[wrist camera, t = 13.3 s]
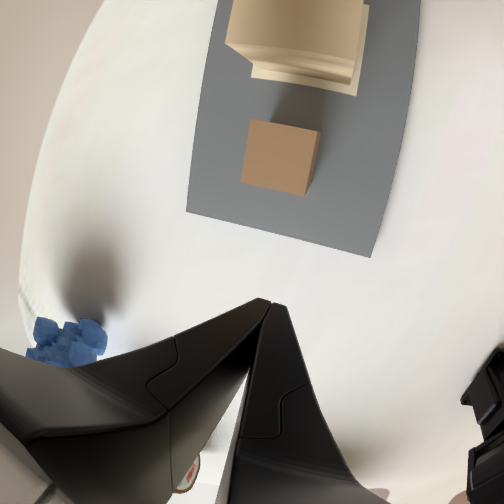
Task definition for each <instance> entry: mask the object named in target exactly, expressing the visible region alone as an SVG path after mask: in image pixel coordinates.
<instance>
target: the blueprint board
mask: <svg viewBox="0 0 504 504" xmlns="http://www.w3.org/2000/svg"><path fill="white" fill-rule="evenodd" d="M233 1H234V0H218V4H217V8H216V13H215V18H214V23H213V27H212V32H211V37H210V43H209V48H208V53H207V59H206V64H205V70H204V76H203V82H202V88H201V94H200V101H199V107H198V114H197V121H196V128H195V136H194V144H193V151H192V160H191V168H190V177H189V187H188V197H187V207H186V212H189V213H193V214H198V215H202V216H206V217H210V218H215V219H219V220H223V221H227V222H231V223H235V224H239V225H244V226H248V227H252V228H256V229H260V230H264V231H268V232H272V233H276V234H280V235H284V236H288V237H292V238H296V239H300V240H303V241H307V242H311V243H315V244H319V245H323V246H327V247H331V248H334V249H338V250H342V251H346V252H349V253H353V254H357V255H361V256H364V257H368V258H370V257H371V254H372V251H373V248H374V245H375V242H376V238H377V235H378V232H379V229H380V225H381V222H382V218H383V215H384V211H385V208H386V204H387V200H388V197H389V193H390V189H391V185H392V181H393V177H394V173H395V169H396V165H397V160H398V156H399V152H400V147H401V142H402V138H403V133H404V128H405V123H406V117H407V112H408V106H409V100H410V94H411V88H412V81H413V74H414V67H415V59H416V50H417V40H418V29H419V16H420V0H364V2H363V10H362V18H361V25H360V33H359V40H358V46H357V53H356V59H355V64H354V69H353V74H352V78H351V82H350V85H346V84H342V83H337V82H332V81H328V80H323V79H318V78H312V77H307V76H301V75H295V74H289V73H282V72H275V71H267V70H261V69H260V68H258V67H257V66H256V65H255V64H253V63H252V62H250V61H249V60H248V59H246V58H245V57H244V56H242V55H241V54H240V53H238V52H237V51H235V50H234V49H232V48H231V47H230V46H228V45H227V44H225V40H226V35H227V30H228V25H229V20H230V15H231V10H232V5H233Z"/></svg>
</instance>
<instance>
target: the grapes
mask: <svg viewBox="0 0 504 504" xmlns="http://www.w3.org/2000/svg"><path fill="white" fill-rule="evenodd" d="M33 336H34V340H35V341H36V342H37V345H36V348H34V349H33V348H28V349H27V352H26V356H25V357H27V358H30V359H33V360H36V361H40V362H43V363H46V364H49V365H53V366H59V367H74V366H80V365H84V364H88V363H92V362H96V361H97V355H103V354H104V352H105V349H106V346H107V334H106V332H105V331H104V330H103V329H101V327H100V324H99V323H97V322H96V321H94V320H90V319H86V318H81V320H80V322H79V324H76V323H72V322H65V324H64V327H63V329H59V327H58V325H57V323H56V322H55V321H53V320H50V319H47V318H43V317H37V320H36V322H35V327H34V332H33Z"/></svg>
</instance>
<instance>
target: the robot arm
mask: <svg viewBox="0 0 504 504" xmlns="http://www.w3.org/2000/svg"><path fill="white" fill-rule="evenodd" d="M497 354H498V355H497ZM248 371H249V372H248ZM247 373H248V376H247V380H246V384H245V388H244V392H243V396H242V400H241V404H240V408H239V412H238V416H237V420H236V424H235V428H234V432H233V436H232V440H231V444H230V448H229V452H228V456H227V460H226V464H225V467H224V471H223V475H222V479H221V483H220V486H219V490H218V494H217V498H216V501H215V504H391V503H389V502H387V501H385V500H384V499H382V498H380V497H378V496H377V495H375V494H373V493H372V492H370V491H369V490H367V489H366V488H364V487H363V486H362V485H361V484H360V483H359V482H358V481H357V480H356V479H355V477H354V476H353V475H352V473H351V471H350V470H349V468H348V466H347V464H346V462H345V460H344V458H343V456H342V454H341V452H340V450H339V448H338V446H337V444H336V442H335V440H334V438H333V436H332V434H331V432H330V430H329V428H328V425H327V423H326V421H325V419H324V417H323V414H322V412H321V410H320V407H319V404H318V402H317V399H316V396H315V393H314V390H313V386H312V384H311V381H310V377H309V374H308V371H307V368H306V365H305V362H304V359H303V355H302V352H301V349H300V346H299V343H298V340H297V337H296V334H295V331H294V327H293V324H292V321H291V318H290V315H289V312H288V309H287V307H286V306H285V305H281V304H278V303H271V302H270V301H268V300H265V299H262V298H256V299H254V300H252V301H250V302H247V303H245V304H243V305H241V306H239V307H237V308H234V309H232V310H230V311H228V312H226V313H223V314H221V315H219V316H217V317H215V318H212V319H210V320H208V321H206V322H203V323H201V324H199V325H197V326H194V327H192V328H190V329H188V330H185V331H183V332H181V333H178V334H176V335H174V337H173V336H171V337H169V338H166V339H164V340H162V341H159V342H157V343H154V344H152V345H149V346H146V347H144V348H140V349H137V350H134V351H131V352H128V353H125V354H121V355H117V356H114V357H110V358H107V359H103V360H99V361H96V362H92V363H88V364H84V365H80V366H74V367H59V366H53V365H49V364H46V363H43V362H40V361H36V360H33V359H30V358H27V357H24V356H22V355H19V354H15V353H13V352H10V351H8V350H5V349H2V348H0V504H166V503H167V502H168V500H169V499H170V497H171V496H172V493H174V491H175V490H176V488H177V487H178V485H179V484H180V482H181V481H182V479H183V478H184V476H185V475H186V473H187V472H188V470H189V469H190V467H191V466H192V464H193V463H194V461H195V460H196V458H197V456H198V455H199V453H200V452H201V450H202V449H203V447H204V445H205V444H206V442H207V441H208V439H209V437H210V436H211V434H212V433H213V431H214V429H215V428H216V426H217V424H218V423H219V421H220V420H221V418H222V416H223V415H224V413H225V411H226V410H227V408H228V406H229V405H230V403H231V401H232V400H233V398H234V396H235V395H236V393H237V391H238V389H239V388H240V386H241V384H242V383H243V381H244V379H245V377H246V375H247ZM460 401H461V404H462V405H469V406H473V410H474V413H475V417H476V420H477V424H479V425H480V427H481V431H482V435H483V439H484V442H483V443H481V444H480V445H478V446H477V447H474V448H472V449H470V450H469V457H468V475H467V491H466V493H467V499H468V501H469V502H470V503H471V504H504V349H502V348H497V349H496V350H494V352H493V353H492V355H491V356H490V358H489V359H488V361H487V362H486V364H485V365H484V367H483V368H482V370H481V371H480V373H479V374H478V376H477V377H476V379H475V380H474V381H473V383H472V384H471V385H470V387H469V388H468V390H467V391H466V392H465V394H464V395H463V396H462V398H461V399H460Z"/></svg>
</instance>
